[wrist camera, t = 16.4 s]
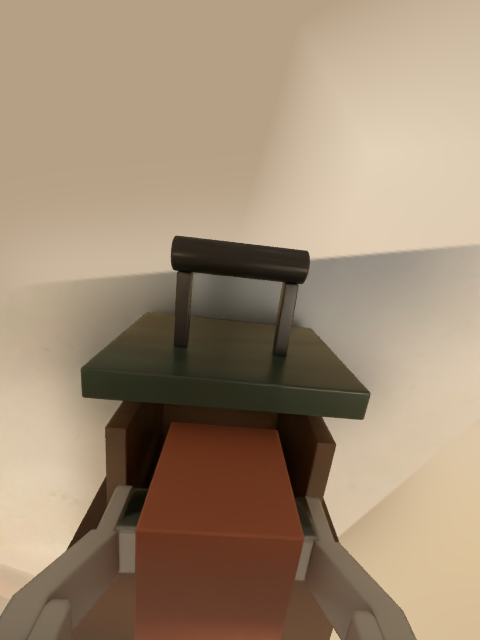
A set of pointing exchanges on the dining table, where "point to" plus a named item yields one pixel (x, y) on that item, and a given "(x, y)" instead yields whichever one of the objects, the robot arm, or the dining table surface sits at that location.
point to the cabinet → (118, 600)
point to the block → (216, 537)
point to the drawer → (224, 372)
